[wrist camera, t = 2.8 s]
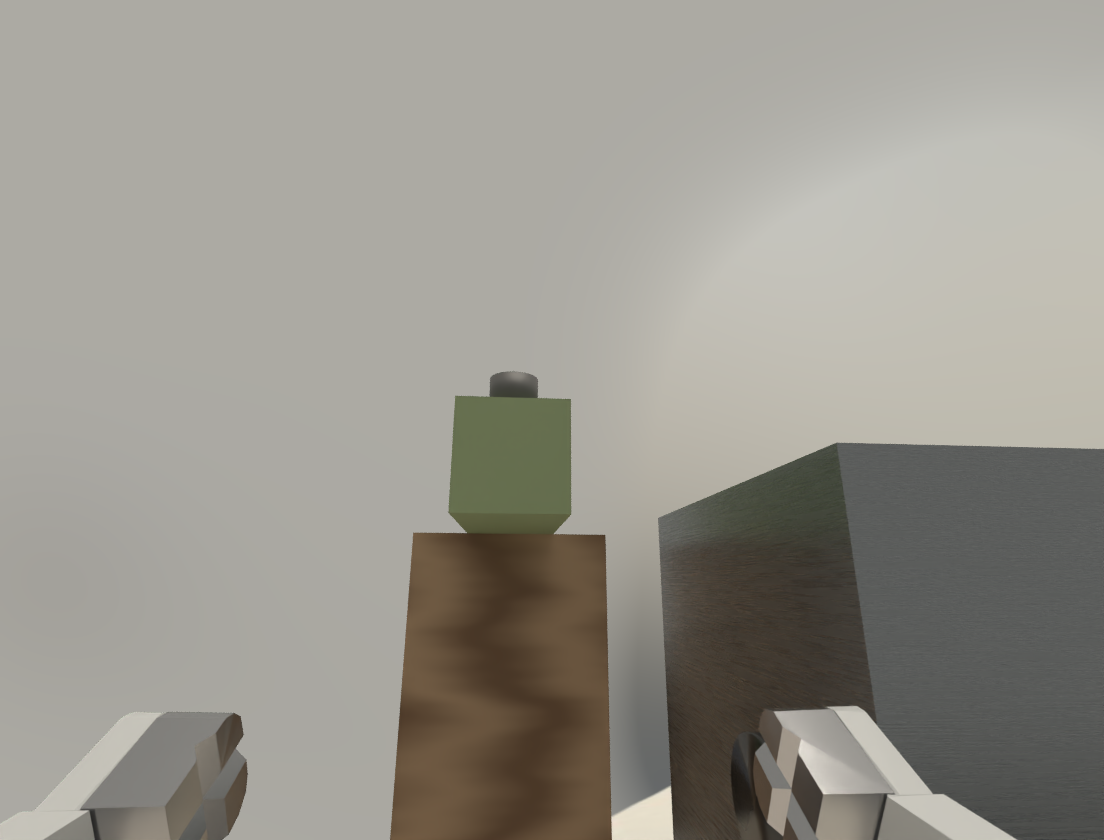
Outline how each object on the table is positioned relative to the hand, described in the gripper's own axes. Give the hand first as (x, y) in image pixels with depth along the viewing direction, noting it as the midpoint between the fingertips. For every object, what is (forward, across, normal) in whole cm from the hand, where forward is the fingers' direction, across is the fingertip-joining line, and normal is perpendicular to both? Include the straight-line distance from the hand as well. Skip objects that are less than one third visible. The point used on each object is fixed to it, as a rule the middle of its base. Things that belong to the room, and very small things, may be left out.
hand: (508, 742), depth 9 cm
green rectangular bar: (+18, 0, +5) cm, 18 cm away
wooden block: (+8, 0, +29) cm, 30 cm away
